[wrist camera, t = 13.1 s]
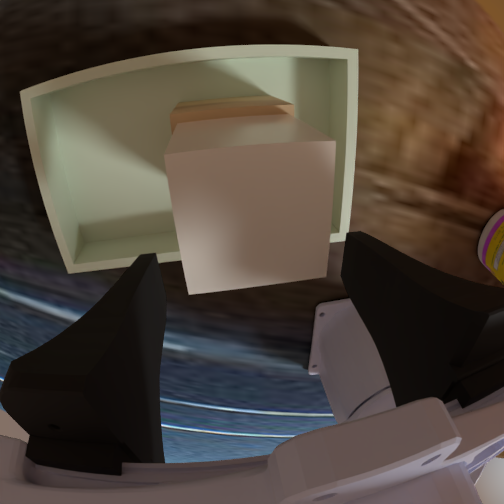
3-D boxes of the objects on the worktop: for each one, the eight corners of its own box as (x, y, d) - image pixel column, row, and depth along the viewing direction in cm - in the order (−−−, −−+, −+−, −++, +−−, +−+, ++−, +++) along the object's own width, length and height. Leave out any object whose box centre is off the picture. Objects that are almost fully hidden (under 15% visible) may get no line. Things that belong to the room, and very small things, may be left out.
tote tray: (330, 218, 22) (347, 240, 19) (81, 248, 20) (68, 273, 17) (335, 50, 16) (358, 49, 13) (43, 86, 14) (19, 91, 11)
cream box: (289, 212, 15) (326, 276, 10) (190, 223, 14) (188, 294, 10) (289, 114, 12) (335, 141, 8) (177, 123, 12) (163, 154, 8)
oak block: (272, 177, 19) (294, 213, 15) (187, 186, 18) (184, 225, 14) (269, 95, 16) (294, 104, 12) (178, 102, 16) (169, 114, 12)
